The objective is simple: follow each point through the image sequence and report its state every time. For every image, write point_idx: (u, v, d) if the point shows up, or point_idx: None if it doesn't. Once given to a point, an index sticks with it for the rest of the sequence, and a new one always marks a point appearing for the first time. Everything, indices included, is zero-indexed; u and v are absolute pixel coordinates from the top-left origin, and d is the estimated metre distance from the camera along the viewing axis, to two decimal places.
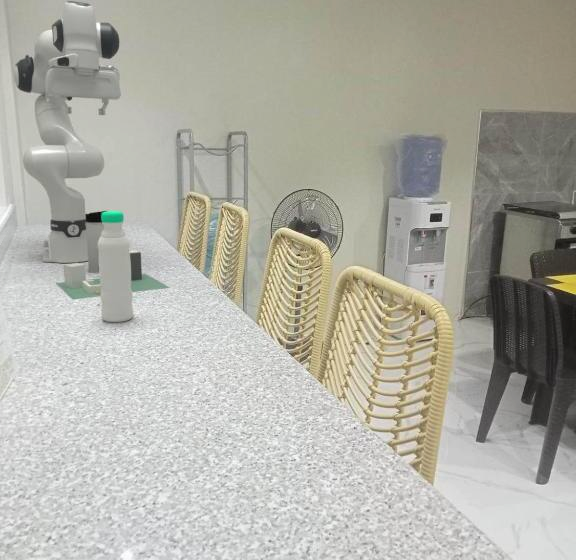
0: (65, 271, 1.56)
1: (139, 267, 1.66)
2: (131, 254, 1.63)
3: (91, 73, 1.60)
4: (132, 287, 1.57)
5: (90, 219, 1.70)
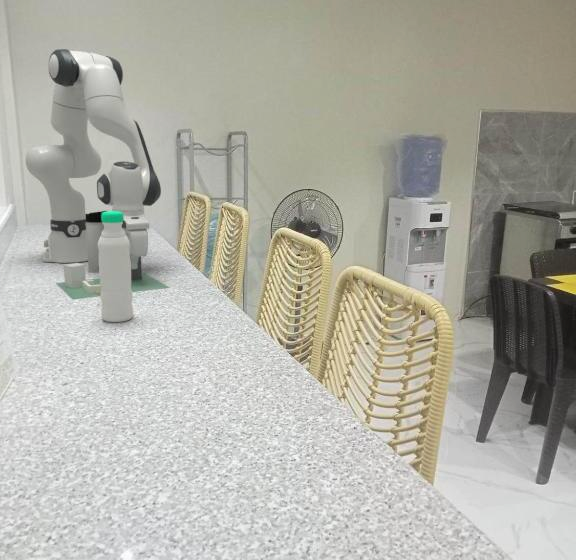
0: (65, 271, 1.56)
1: (139, 267, 1.66)
2: None
3: None
4: (132, 287, 1.57)
5: (90, 219, 1.70)
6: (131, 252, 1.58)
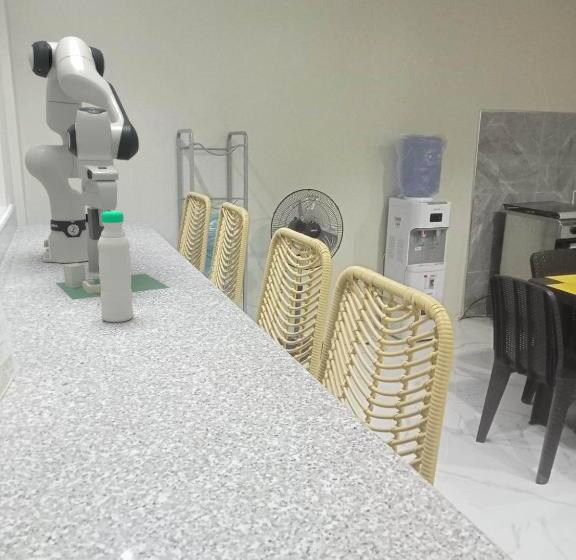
0: (65, 271, 1.56)
1: None
2: None
3: None
4: (132, 287, 1.57)
5: None
6: (98, 206, 1.43)
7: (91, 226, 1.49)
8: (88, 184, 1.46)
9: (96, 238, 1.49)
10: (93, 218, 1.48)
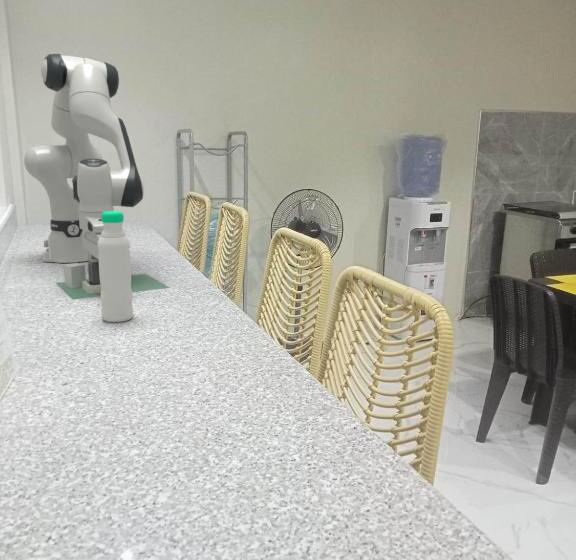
0: (65, 271, 1.56)
1: None
2: None
3: None
4: (132, 287, 1.57)
5: None
6: None
7: (91, 278, 1.52)
8: (89, 234, 1.48)
9: None
10: (93, 271, 1.51)
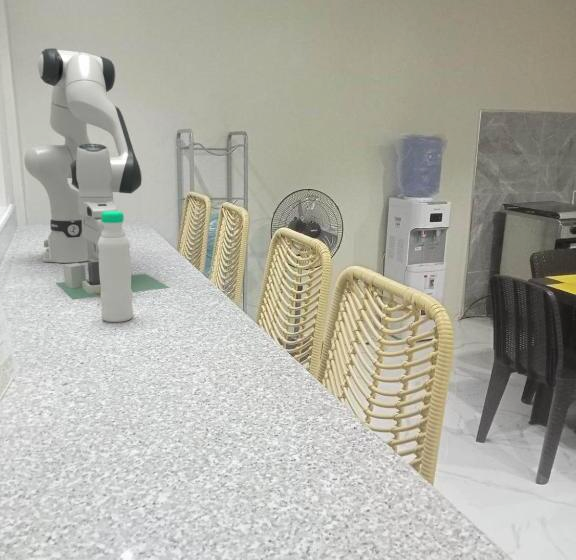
0: (65, 271, 1.56)
1: None
2: None
3: None
4: (132, 287, 1.57)
5: None
6: None
7: (91, 278, 1.52)
8: (88, 220, 1.48)
9: None
10: (93, 271, 1.51)
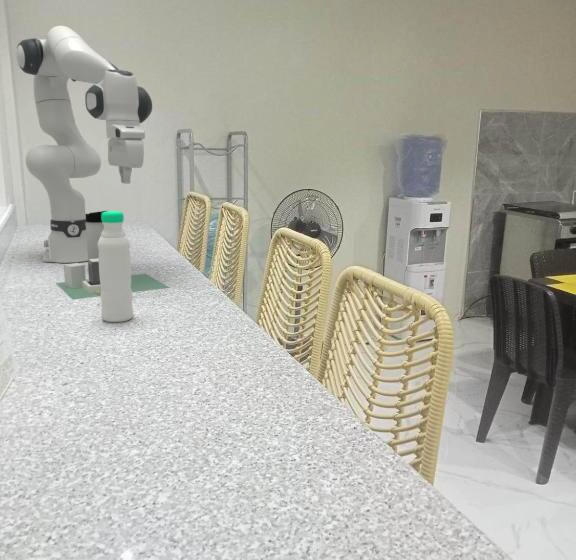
0: (65, 271, 1.56)
1: None
2: None
3: None
4: (132, 287, 1.57)
5: (90, 219, 1.70)
6: (126, 163, 1.51)
7: (91, 278, 1.52)
8: (116, 143, 1.53)
9: None
10: (93, 271, 1.51)
